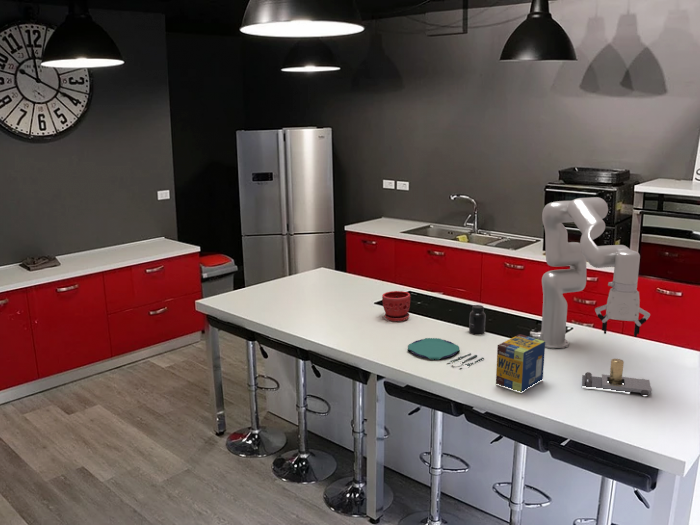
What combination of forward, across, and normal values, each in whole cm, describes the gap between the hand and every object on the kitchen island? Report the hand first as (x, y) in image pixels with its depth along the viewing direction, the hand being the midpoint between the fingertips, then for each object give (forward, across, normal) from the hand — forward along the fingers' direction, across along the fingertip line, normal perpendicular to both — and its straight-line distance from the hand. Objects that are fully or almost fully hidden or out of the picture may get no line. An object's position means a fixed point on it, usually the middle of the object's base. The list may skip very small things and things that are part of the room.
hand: (619, 334), depth 215 cm
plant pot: (+21, -94, +47) cm, 107 cm away
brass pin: (+20, 0, 0) cm, 20 cm away
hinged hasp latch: (+20, 0, 0) cm, 20 cm away
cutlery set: (+21, -64, +10) cm, 68 cm away
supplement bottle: (+20, -55, +40) cm, 71 cm away
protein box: (+20, -32, -7) cm, 38 cm away
